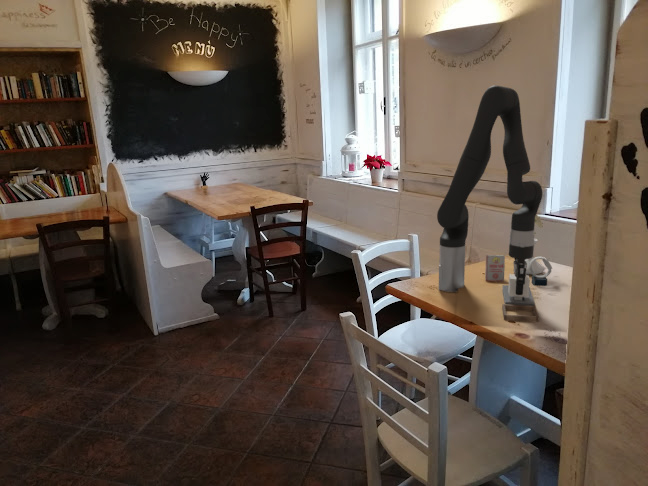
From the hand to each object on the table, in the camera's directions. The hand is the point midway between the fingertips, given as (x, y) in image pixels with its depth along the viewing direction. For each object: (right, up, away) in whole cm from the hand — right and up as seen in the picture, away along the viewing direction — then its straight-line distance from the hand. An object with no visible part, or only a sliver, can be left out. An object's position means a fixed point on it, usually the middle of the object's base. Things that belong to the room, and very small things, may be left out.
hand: (518, 291), depth 170 cm
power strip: (+2, -5, +5) cm, 7 cm away
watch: (+17, 0, +22) cm, 28 cm away
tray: (-2, -8, -7) cm, 11 cm away
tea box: (+2, +2, +31) cm, 31 cm away
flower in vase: (+19, +4, +38) cm, 43 cm away
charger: (0, -3, +1) cm, 3 cm away
